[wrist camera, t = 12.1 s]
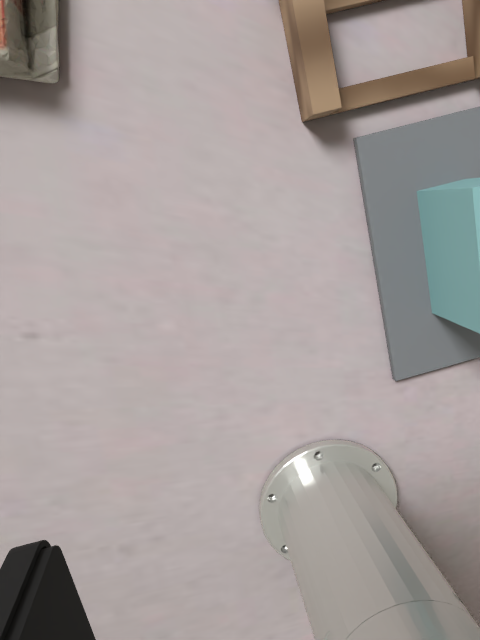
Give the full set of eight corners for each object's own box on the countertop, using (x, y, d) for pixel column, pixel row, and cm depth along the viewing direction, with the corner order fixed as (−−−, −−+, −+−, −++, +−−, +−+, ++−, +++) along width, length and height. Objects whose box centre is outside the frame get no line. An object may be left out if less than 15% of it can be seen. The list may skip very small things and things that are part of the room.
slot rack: (494, 74, 35) (523, 62, 32) (302, 122, 34) (313, 114, 31) (484, -48, 32) (514, -72, 30) (278, 0, 32) (288, -21, 29)
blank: (465, 178, 36) (531, 172, 29) (476, 300, 38) (540, 321, 32) (416, 191, 35) (472, 188, 29) (431, 312, 38) (486, 336, 31)
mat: (521, 341, 40) (525, 344, 40) (392, 378, 40) (395, 381, 39) (501, 101, 35) (507, 99, 34) (353, 138, 34) (356, 137, 34)
